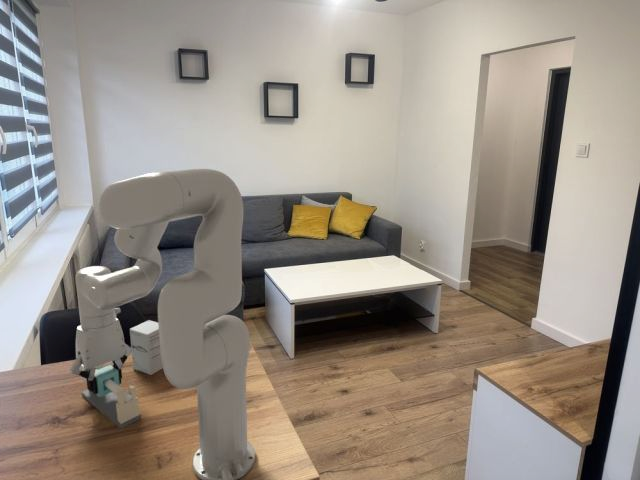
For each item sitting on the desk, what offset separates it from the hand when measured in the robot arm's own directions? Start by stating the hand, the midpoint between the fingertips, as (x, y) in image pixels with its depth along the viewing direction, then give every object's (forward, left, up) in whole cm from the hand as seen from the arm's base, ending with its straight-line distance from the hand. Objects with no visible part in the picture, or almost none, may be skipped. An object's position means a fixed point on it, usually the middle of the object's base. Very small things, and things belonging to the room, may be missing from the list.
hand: (105, 386), depth 109 cm
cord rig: (-1, -1, -5) cm, 5 cm away
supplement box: (+15, -12, -5) cm, 19 cm away
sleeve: (0, 0, -1) cm, 1 cm away
